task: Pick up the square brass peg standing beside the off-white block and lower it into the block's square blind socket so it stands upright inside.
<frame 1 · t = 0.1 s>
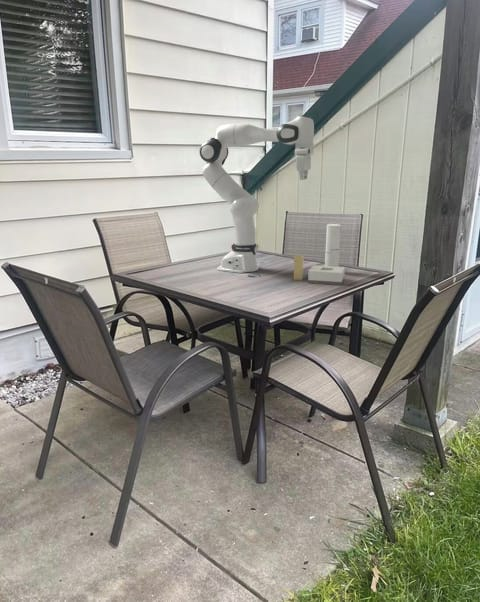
hand: (303, 179, 240), 48 cm above the table, tool pointing down, fingers open, 8 cm apart
socket block: (326, 280, 236), on the table
cylindrical container: (331, 272, 254), on the table
brass peg: (298, 279, 240), on the table
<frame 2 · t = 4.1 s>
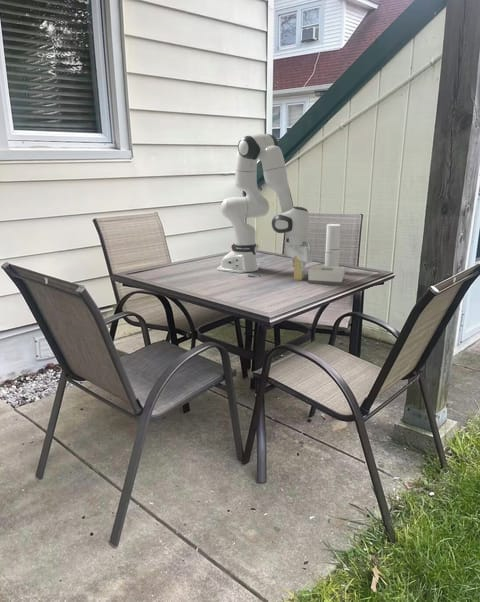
hand: (298, 268, 238), 6 cm above the table, tool pointing down, fingers closed on brass peg, 6 cm apart
brass peg: (298, 279, 240), on the table, touching gripper
everything else where it was.
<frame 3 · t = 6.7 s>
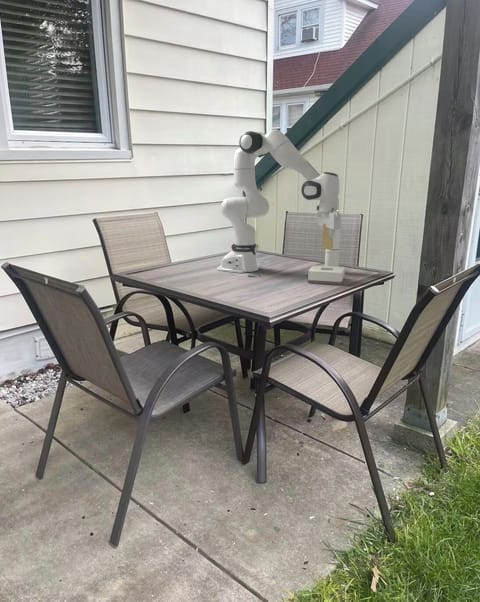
hand: (328, 236, 230), 22 cm above the table, tool pointing down, fingers closed on brass peg, 6 cm apart
brass peg: (327, 248, 231), point 16 cm above the table, touching gripper
everything else where it was.
when the fingers open (9 cm above the table, at t = 9.8 s): brass peg drops 1 cm, resting on socket block.
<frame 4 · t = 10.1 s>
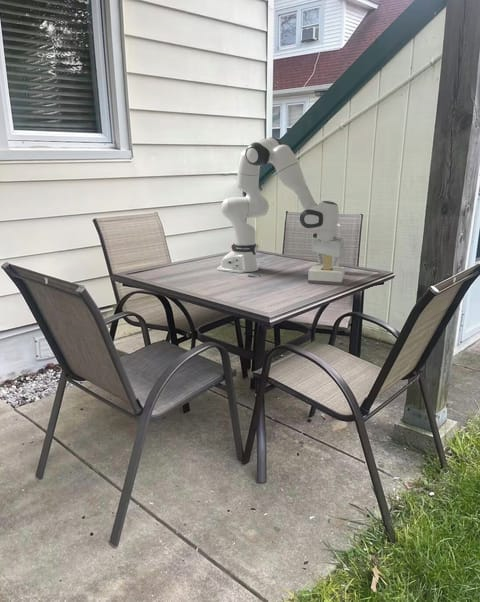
hand: (327, 263, 234), 9 cm above the table, tool pointing down, fingers open, 8 cm apart
brass peg: (326, 277, 236), point 2 cm above the table, touching socket block
everything else where it was.
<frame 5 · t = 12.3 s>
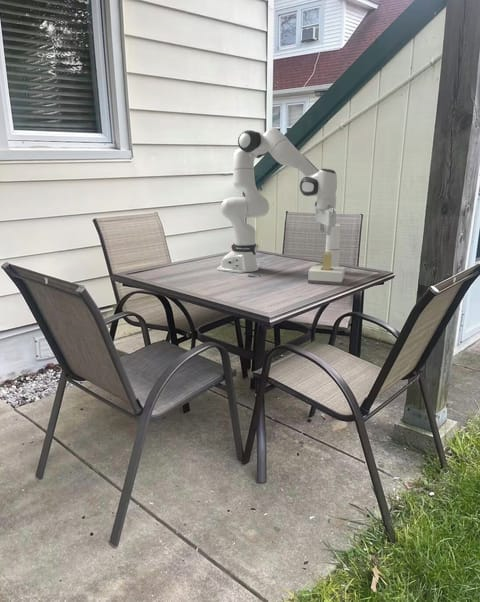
hand: (324, 233, 231), 23 cm above the table, tool pointing down, fingers open, 8 cm apart
nothing on the table moved.
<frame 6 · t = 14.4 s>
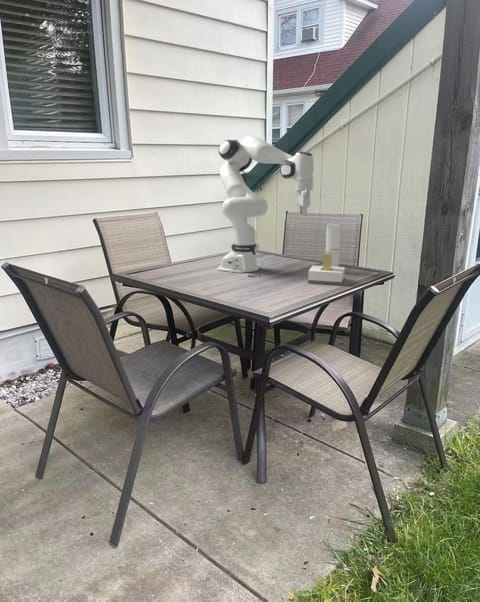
hand: (303, 214, 238), 31 cm above the table, tool pointing down, fingers open, 8 cm apart
nothing on the table moved.
at the end: brass peg 0.1 cm off-centre on the socket block, point 1.5 cm above the socket block's base; brass peg tilted 0°; the gripper is holding nothing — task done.
